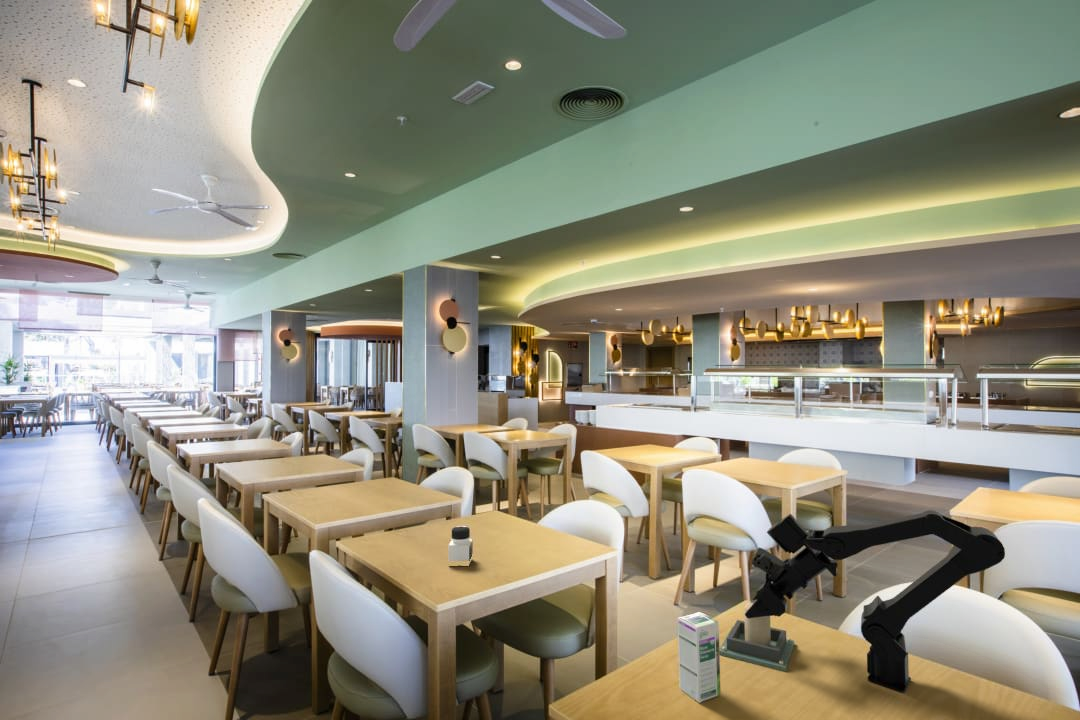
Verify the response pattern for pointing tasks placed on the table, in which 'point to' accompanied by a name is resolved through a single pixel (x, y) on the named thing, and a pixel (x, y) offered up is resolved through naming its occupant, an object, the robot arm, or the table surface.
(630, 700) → the table surface
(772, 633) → the header socket
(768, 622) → the candle
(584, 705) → the table surface
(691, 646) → the syrup box
